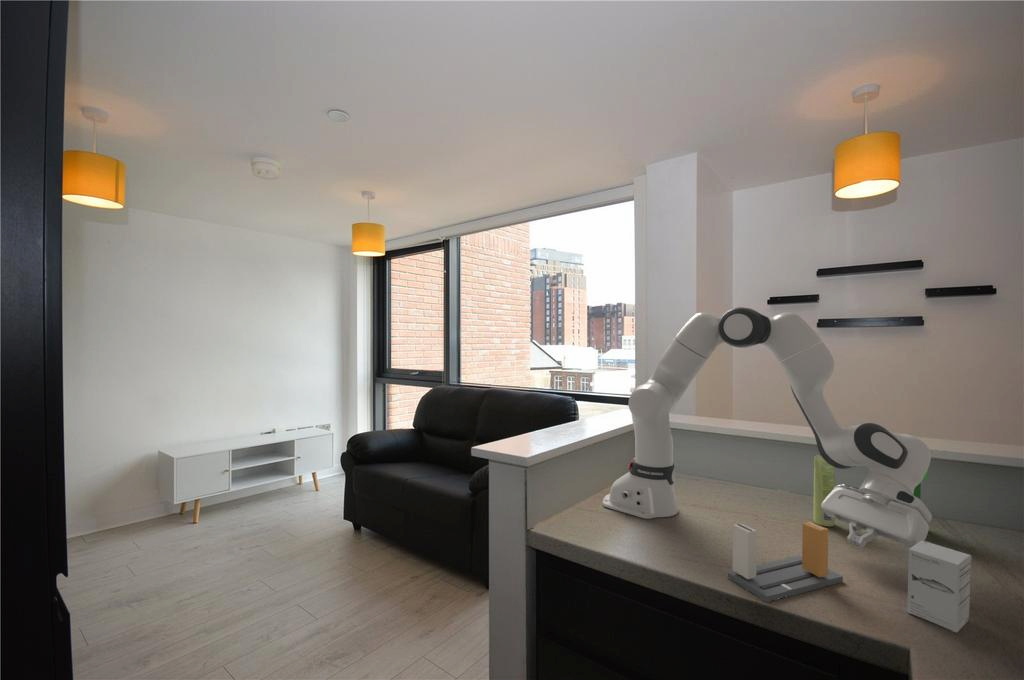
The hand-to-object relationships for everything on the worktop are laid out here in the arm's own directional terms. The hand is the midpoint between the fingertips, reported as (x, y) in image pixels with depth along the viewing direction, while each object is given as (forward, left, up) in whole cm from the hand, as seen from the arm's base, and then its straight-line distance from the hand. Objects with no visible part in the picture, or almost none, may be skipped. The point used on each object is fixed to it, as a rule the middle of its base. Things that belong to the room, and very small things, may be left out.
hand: (854, 543), depth 104 cm
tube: (-5, +27, -6) cm, 28 cm away
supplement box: (+11, -13, -6) cm, 19 cm away
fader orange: (-8, -10, -4) cm, 14 cm away
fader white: (-21, -19, -4) cm, 29 cm away
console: (-14, -13, -6) cm, 20 cm away
